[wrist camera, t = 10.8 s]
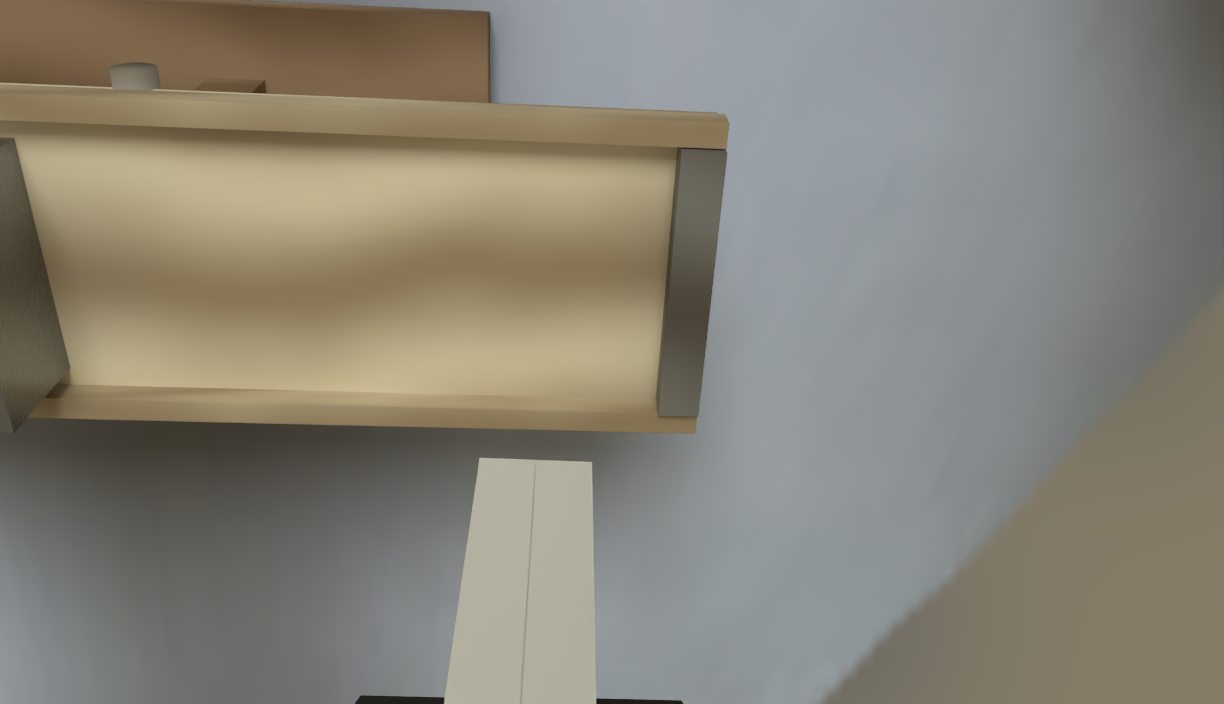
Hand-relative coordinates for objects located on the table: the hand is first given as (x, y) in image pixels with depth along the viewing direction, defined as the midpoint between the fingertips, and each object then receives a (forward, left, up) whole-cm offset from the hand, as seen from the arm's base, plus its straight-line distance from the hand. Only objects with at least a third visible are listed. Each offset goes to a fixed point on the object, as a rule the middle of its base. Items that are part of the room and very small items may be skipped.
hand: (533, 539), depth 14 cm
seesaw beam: (+3, -11, -17) cm, 21 cm away
